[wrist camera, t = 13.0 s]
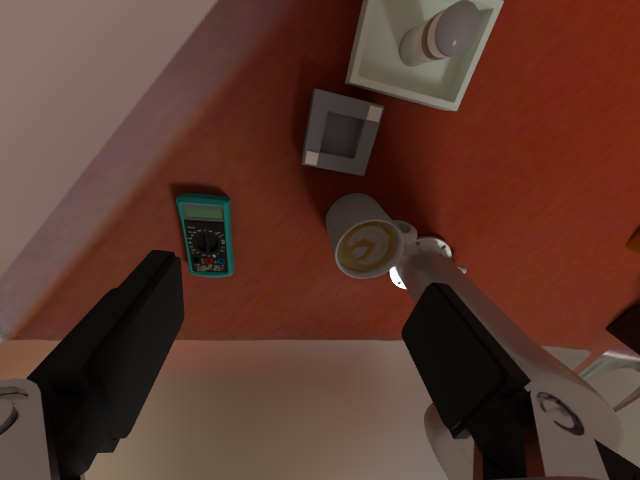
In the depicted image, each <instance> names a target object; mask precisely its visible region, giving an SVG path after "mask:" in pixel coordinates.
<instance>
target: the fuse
mask: <svg viewBox="0 0 640 480" xmlns="http://www.w3.org/2000/svg"><path fill="white" fill-rule="evenodd" d="M479 26H480V15H479V11H478V8H477V7H476V5H475V4H474V3H473V2H471V1H468V0H461V1H458V2H456V3H454V4H453V5H451V6H450V7H448V8H447V9H444V10H442V11H441V12H439V13H437V14H436V15H434V16H433V17H431V18H430V19H428V20H426V21H424V22H423V23H421V24H419V25H418V26H416V27H413V28H411V29H410V30H408V31H407V32H406V33H405V34H404V36H403V37H402V39H401V42H400V46H399V56H400V59H401V61H402V62H403V63H404V64H405V65H406V66H409V67H414V66H418V65H420V64H424V63H427V62H431V61H435V60H441V59H445V58H448V57H452V56H456V55H459V54H462V53H463V52H465V51H466V50H467V49H468V48H469V47H470V46H471V45H472V43H473V42H474V40H475V38H476V36H477V34H478V30H479Z"/></svg>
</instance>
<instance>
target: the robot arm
mask: <svg viewBox="0 0 640 480" xmlns="http://www.w3.org/2000/svg"><path fill="white" fill-rule="evenodd" d="M451 258H452V255H451V250H450V248H449V246H448V245H447V244H446V243H445V242H444V241H443V240H441V239H440V238H437V237H435V236H420V237H417V239H416V241H415V242H414V243H412V244H410V245H405V246H404V251H403V254H402V256H401V258H400V260H399V261H398V263H397V264H396V265H395V266H394V267H393V268H392V269H391V270H389V271H388V273H389V276H390V278H391V280H392V281H393V283H394V284H395V285H397V286H398V287H400V288H403V289H407V291H408V292H409V294H410V296H411V297H412V299H413V301H414V302H415V304H416V306H415V307H414V309H413V311H412V313H411V315H410V316H409V318H408V320H407V322H406V323H405V325H404V327H403V329H402V338H403V340H404V342H405V344H406V346H407V348H408V350H409V353H410V355H411V357H412V359H413V361H414V363H415V365H416V367H417V369H418V371H419V373H420V376H421V378H422V380H423V382H424V384H425V386H426V388H427V390H428V393H429V395H430V397H431V399H432V401H433V403H432V404H431V405H430V406H429V407H428V408H427V410H426V412H425V415H424V427H425V432H426V435H427V438H428V441H429V443H430V446H431V448H432V450H433V452H434V454H435V456H436V458H437V460H438V462H439V463H440V465H441V467H442V469H443V470H444V472H445V474H446V475H447V477H448V479H449V480H640V468H639V467H637V466H636V465H634V464H633V463H631V462H630V461H628V460H626V459H625V458H623V457H622V456H620V455H619V454H617V453H616V452H617V451H618V449H619V448H620V446H621V443H622V440H623V429H622V425H621V422H620V420H619V418H618V416H617V415H616V413H615V411H614V410H613V409H612V407H611V406H610V405H609V404H608V402H607V401H606V400H605V399H604V398H603V397H602V396H601V395H600V394H599V393H598V392H597V391H596V390H595V389H594V388H593V387H591V386H590V385H589V384H588V383H587V382H585V381H584V380H583V379H582V378H581V377H579V376H578V375H577V374H576V373H574V372H573V371H572V370H570V369H569V368H568V367H566V366H565V365H564V364H563V363H561V362H560V361H559V360H557V359H556V358H555V357H553V356H552V355H551V354H550V353H548V352H547V351H546V350H545V349H543V348H542V347H541V346H540V345H539V344H537V343H536V342H535V341H534V340H533V339H531V338H530V337H529V336H528V335H527V334H526V333H525V332H524V331H523V330H521V329H520V328H519V327H518V326H517V325H516V324H515V323H514V322H513V321H512V320H511V319H510V318H509V317H508V316H507V315H506V314H505V313H504V312H503V311H502V310H501V309H499V308H498V307H497V306H496V305H495V304H494V303H493V302H492V301H491V300H490V299H489V298H488V297H487V296H486V295H485V294H484V293H483V292H482V291H481V290H480V289H479V288H478V287H477V286H476V285H475V284H474V283H473V282H472V281H471V280H470V279H469V278H468V277H467V276H466V275H465V274H464V273H466V271H467V269H466V267H464V266H457V265H456V264H455V263H454V262H453V261H452V260H451ZM183 320H184V302H183V287H182V272H181V259H180V257H175V254H174V252H170V251H161V250H152V251H151V252H150V253H149V254H148V255H147V256H146V257H145V258H144V260H143V261H142V262H141V263H140V264H139V265H138V266H137V267H136V268H135V269H134V271H133V272H132V273H131V274H130V275H129V276H128V277H127V278H126V279H125V280H124V282H123V283H122V284H121V285H120V286H119V287H118V288H114V289H111V290H110V291H109V292H108V293H106V295H105V296H104V297H103V298H102V299H101V300H100V301H99V302H98V303H97V304H96V305H95V306H94V307H93V308H92V309H91V310H90V311H89V313H88V314H87V315H86V316H85V317H84V318H83V319H82V320H81V321H80V322H79V323H78V324H77V325H76V326H75V327H74V328H73V329H72V331H71V332H70V333H69V334H68V335H67V336H66V337H65V338H64V339H63V340H62V341H61V342H60V343H59V344H58V345H57V347H56V348H55V349H54V350H53V351H52V352H51V353H50V354H49V355H48V356H47V357H46V358H45V359H44V360H43V361H42V362H41V363H40V365H39V366H38V367H37V368H36V369H35V370H34V371H33V372H32V373H31V374H30V375H29V376H28V377H27V379H16V378H15V379H9V380H2V381H0V480H85V475H84V473H85V472H86V471H87V470H88V469H89V468H90V466H91V464H92V462H93V460H94V458H95V456H96V455H97V453H109V452H114V450H115V448H116V446H117V444H118V442H119V440H120V438H126V437H127V436H128V435H129V433H130V432H131V430H132V428H133V426H134V424H135V421H136V419H137V417H138V415H139V413H140V411H141V409H142V407H143V405H144V403H145V401H146V399H147V397H148V394H149V392H150V390H151V388H152V386H153V384H154V382H155V379H156V378H157V376H158V373H159V371H160V369H161V367H162V365H163V363H164V361H165V359H166V357H167V355H168V353H169V351H170V348H171V346H172V344H173V342H174V340H175V338H176V336H177V334H178V332H179V330H180V328H181V325H182V323H183Z"/></svg>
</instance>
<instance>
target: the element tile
mask: <svg viewBox="0 0 640 480" xmlns="http://www.w3.org/2000/svg"><path fill="white" fill-rule="evenodd" d="M626 248H627V249H629V250H631V251H633V252H636V253H638V254H640V229H639V230H638V231H637V232H636V233H635V234H634V235H633V236H632V237H631V238H630V240H629V241H628V242H627V244H626Z"/></svg>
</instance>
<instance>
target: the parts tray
mask: <svg viewBox="0 0 640 480" xmlns="http://www.w3.org/2000/svg"><path fill="white" fill-rule="evenodd" d="M458 1H461V0H363V2H362V7H361V12H360V16H359V21H358V25H357V30H356V34H355V39H354V44H353V48H352V53H351V57H350V62H349V66H348V71H347V76H346V80H345V84H347V85H351V86H355V87H358V88H362V89H366V90H370V91H373V92H377V93H381V94H385V95H388V96H392V97H396V98H400V99H403V100H407V101H411V102H415V103H418V104H422V105H426V106H430V107H433V108H437V109H441V110H447V111H457V109H458V107H459V105H460V102H461V100H462V98H463V95H464V93H465V91H466V88H467V86H468V84H469V81H470V79H471V77H472V74H473V72H474V70H475V67H476V65H477V63H478V61H479V58H480V56H481V54H482V51H483V49H484V47H485V44H486V42H487V40H488V37H489V35H490V33H491V30H492V28H493V26H494V23H495V21H496V19H497V16H498V14H499V12H500V9H501V7H502V5H503V2H504V1H502V0H468V1H471V2H473V3H474V4H475V5H476V7H477V8H478V11H479V15H480V26H479V30H478V34H477V36H476V38H475V40H474V42H473V43H472V45H471V46H470V47H469V48H468V49H467V50H466V51H465V52H463V53H462V54H459V55H456V56H452V57H448V58H445V59H441V60H435V61H431V62H427V63H424V64H420V65H418V66H414V67H409V66H406V65H405V64H404V63H403V62H402V61H401V59H400V56H399V46H400V42H401V39H402V37H403V36H404V34H405V33H406V32H407V31H408V30H410V29H411V28H413V27H416V26H418V25H419V24H421V23H423V22H424V21H426V20H428V19H430V18H431V17H433V16H434V15H436V14H437V13H439V12H441V11H442V10H444V9H447V8H448V7H450V6H451V5H453V4H454V3H456V2H458Z"/></svg>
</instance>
